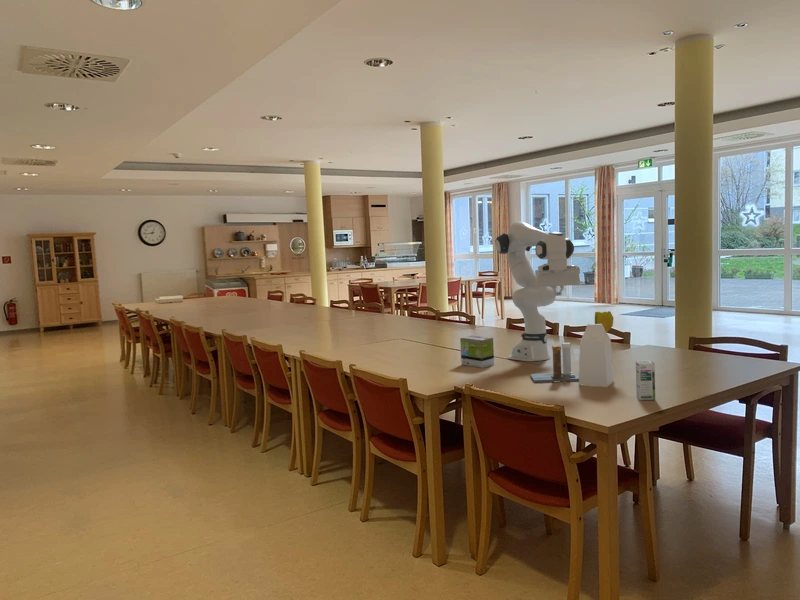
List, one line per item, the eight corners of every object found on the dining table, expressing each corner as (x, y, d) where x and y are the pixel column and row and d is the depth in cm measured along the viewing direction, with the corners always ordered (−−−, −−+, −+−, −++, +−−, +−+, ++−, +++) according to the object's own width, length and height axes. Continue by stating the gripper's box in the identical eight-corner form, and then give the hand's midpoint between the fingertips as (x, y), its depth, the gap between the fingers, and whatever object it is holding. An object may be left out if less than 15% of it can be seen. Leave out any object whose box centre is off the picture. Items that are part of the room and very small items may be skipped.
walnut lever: (552, 378, 263) (551, 347, 262) (551, 376, 267) (550, 345, 266) (564, 377, 263) (563, 346, 261) (562, 375, 267) (561, 345, 265)
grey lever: (562, 374, 269) (561, 344, 268) (560, 372, 273) (559, 342, 272) (573, 374, 269) (572, 343, 267) (571, 372, 273) (570, 342, 271)
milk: (613, 381, 257) (612, 322, 255) (607, 387, 248) (605, 326, 246) (586, 379, 264) (584, 322, 262) (578, 384, 254) (577, 325, 252)
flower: (615, 378, 263) (614, 311, 261) (596, 378, 265) (595, 312, 262) (613, 373, 271) (612, 309, 269) (595, 373, 273) (593, 310, 271)
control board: (534, 382, 262) (534, 377, 262) (530, 376, 275) (529, 371, 275) (579, 381, 261) (579, 375, 261) (573, 374, 274) (573, 369, 273)
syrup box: (639, 400, 225) (639, 363, 223) (636, 396, 230) (635, 360, 229) (655, 400, 224) (654, 362, 223) (651, 396, 230) (650, 359, 228)
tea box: (460, 365, 311) (459, 337, 310) (473, 361, 318) (472, 335, 317) (482, 368, 300) (481, 339, 299) (494, 365, 307) (493, 337, 305)
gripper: (578, 265, 278) (579, 293, 279) (534, 267, 280) (535, 295, 281) (581, 265, 272) (582, 295, 273) (536, 267, 274) (537, 297, 275)
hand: (558, 295), depth 277 cm, fingers closed
